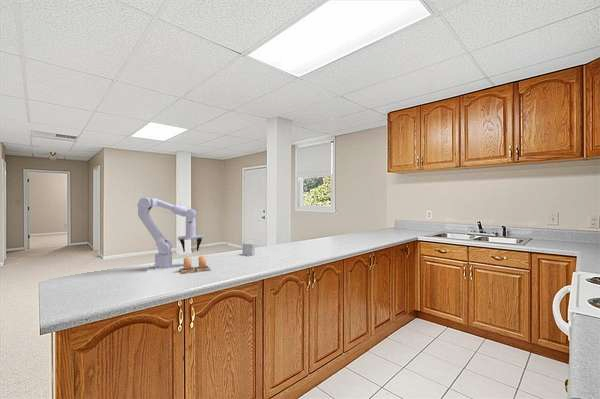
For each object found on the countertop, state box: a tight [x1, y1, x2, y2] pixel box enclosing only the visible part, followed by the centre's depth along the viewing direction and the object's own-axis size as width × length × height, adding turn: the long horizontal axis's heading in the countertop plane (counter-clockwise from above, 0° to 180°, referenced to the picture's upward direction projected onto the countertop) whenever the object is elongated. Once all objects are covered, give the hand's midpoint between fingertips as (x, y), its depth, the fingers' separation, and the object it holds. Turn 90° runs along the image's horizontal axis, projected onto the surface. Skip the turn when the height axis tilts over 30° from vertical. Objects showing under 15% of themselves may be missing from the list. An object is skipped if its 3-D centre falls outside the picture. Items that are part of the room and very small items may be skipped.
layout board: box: [179, 264, 212, 275], centre depth 162 cm, size 16×12×2 cm
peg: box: [183, 257, 192, 271], centre depth 160 cm, size 4×4×7 cm
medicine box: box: [241, 242, 256, 257], centre depth 206 cm, size 8×4×9 cm, turn 71°
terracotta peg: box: [198, 255, 207, 269], centre depth 163 cm, size 4×4×7 cm
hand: (190, 251), depth 173 cm, fingers open, 7 cm apart
